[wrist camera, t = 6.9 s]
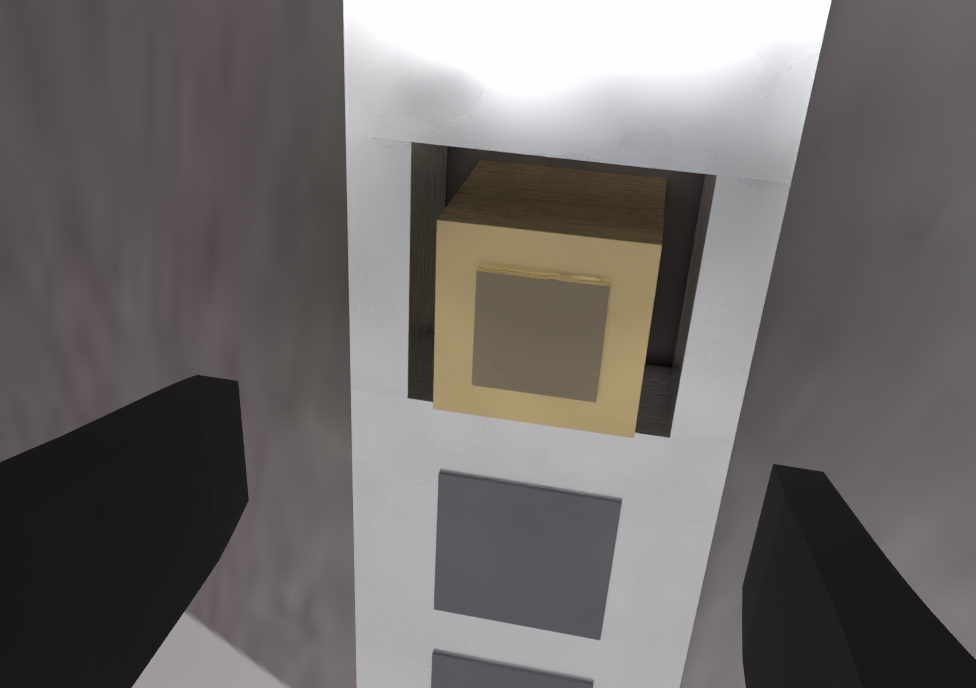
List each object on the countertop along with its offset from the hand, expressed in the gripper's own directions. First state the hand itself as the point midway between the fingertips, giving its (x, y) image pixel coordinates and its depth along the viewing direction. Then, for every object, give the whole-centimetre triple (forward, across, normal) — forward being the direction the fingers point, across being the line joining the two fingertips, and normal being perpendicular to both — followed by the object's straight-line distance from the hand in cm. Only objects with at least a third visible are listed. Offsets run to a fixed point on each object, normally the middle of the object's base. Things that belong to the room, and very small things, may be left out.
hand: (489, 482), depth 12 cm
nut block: (+9, 0, 0) cm, 9 cm away
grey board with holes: (+9, 0, +3) cm, 10 cm away
